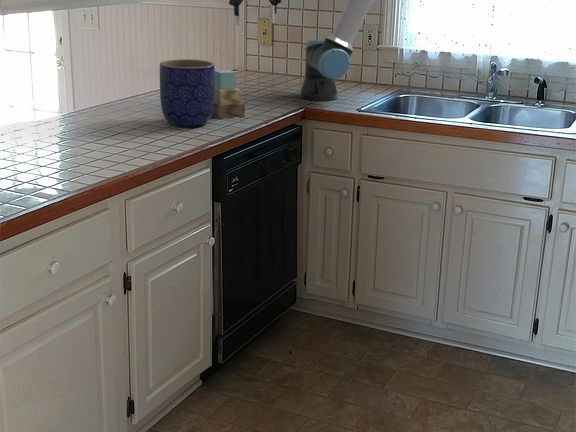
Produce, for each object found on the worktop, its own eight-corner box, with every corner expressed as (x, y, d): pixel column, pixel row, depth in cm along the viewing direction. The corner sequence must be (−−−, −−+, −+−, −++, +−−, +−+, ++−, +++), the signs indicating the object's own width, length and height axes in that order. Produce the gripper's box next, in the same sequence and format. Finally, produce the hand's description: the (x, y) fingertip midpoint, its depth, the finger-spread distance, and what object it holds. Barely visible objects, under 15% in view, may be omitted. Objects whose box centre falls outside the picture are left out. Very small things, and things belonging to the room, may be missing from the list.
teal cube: (229, 86, 294) (229, 69, 292) (236, 89, 289) (236, 72, 287) (214, 87, 292) (214, 70, 290) (220, 90, 287) (220, 73, 285)
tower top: (230, 99, 297) (230, 85, 295) (240, 103, 290) (240, 89, 289) (210, 101, 293) (210, 87, 291) (220, 105, 286) (220, 91, 285)
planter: (200, 132, 267) (199, 69, 260) (150, 126, 273) (149, 64, 266) (223, 121, 284) (223, 61, 277) (176, 115, 289) (175, 57, 283)
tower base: (233, 112, 300) (233, 98, 298) (244, 117, 291) (244, 104, 290) (207, 114, 295) (207, 100, 294) (218, 119, 287) (218, 105, 285)
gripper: (280, -38, 302) (280, 21, 309) (219, -36, 290) (220, 24, 297) (290, -37, 295) (290, 23, 302) (227, -35, 284) (229, 26, 291)
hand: (255, 24), depth 300 cm, fingers open, 13 cm apart
